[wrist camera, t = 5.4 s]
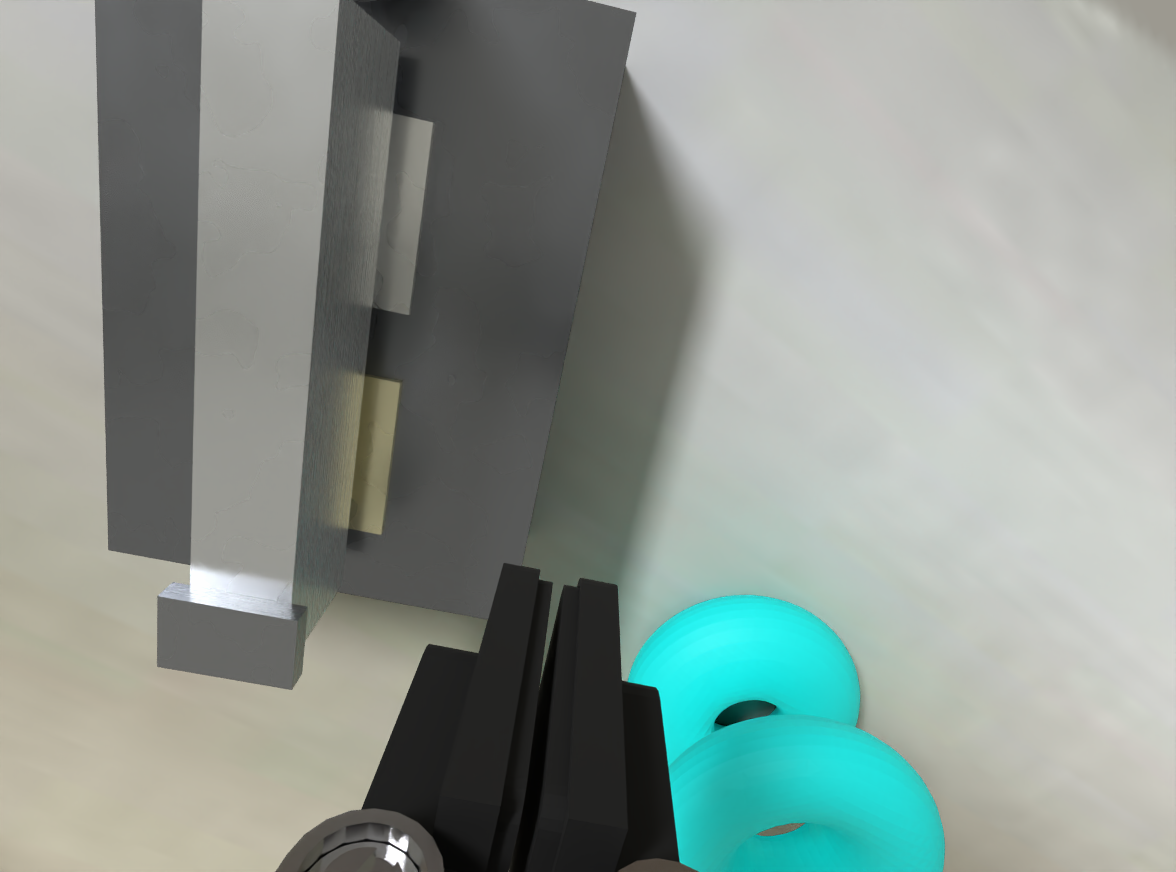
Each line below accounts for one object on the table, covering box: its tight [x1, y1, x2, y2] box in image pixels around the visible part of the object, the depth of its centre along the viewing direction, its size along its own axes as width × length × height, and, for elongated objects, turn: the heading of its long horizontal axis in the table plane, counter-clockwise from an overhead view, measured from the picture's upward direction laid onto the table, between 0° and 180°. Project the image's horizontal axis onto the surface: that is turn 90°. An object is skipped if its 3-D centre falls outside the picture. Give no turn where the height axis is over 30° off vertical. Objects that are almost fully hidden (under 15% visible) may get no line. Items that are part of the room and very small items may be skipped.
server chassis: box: [95, 0, 636, 619], centre depth 21 cm, size 20×13×7 cm, turn 168°
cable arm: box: [157, 0, 400, 690], centre depth 15 cm, size 18×3×5 cm, turn 168°
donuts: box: [628, 595, 945, 872], centre depth 25 cm, size 10×10×10 cm
